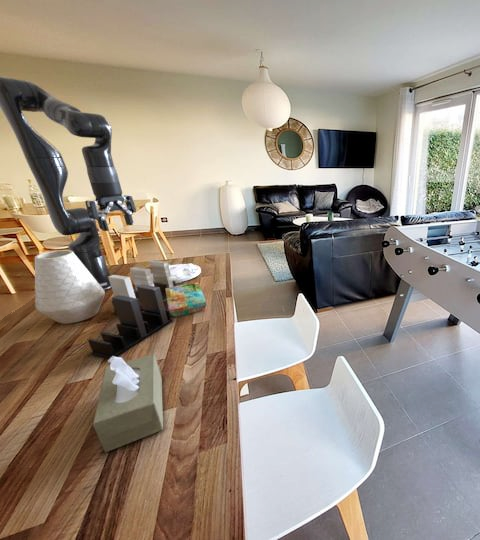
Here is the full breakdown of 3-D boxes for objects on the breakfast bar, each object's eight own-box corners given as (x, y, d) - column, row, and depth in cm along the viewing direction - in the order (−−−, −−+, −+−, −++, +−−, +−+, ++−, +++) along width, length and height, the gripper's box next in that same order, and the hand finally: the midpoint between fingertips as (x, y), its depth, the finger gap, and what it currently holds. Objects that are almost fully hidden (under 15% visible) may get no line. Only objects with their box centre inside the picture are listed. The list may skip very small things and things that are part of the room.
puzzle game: (168, 308, 99) (164, 286, 114) (170, 319, 101) (167, 296, 116) (205, 299, 106) (197, 280, 121) (207, 310, 107) (199, 290, 122)
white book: (134, 312, 103) (124, 279, 98) (118, 309, 104) (107, 276, 99) (139, 309, 105) (129, 277, 100) (124, 306, 106) (113, 274, 101)
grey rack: (112, 359, 82) (96, 318, 76) (91, 355, 83) (75, 313, 78) (173, 321, 100) (164, 285, 95) (155, 317, 102) (145, 282, 97)
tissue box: (115, 391, 71) (94, 339, 65) (161, 376, 76) (147, 327, 70) (105, 454, 57) (78, 395, 51) (163, 431, 62) (145, 374, 56)
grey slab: (131, 316, 102) (119, 281, 96) (114, 313, 103) (102, 278, 98) (178, 291, 121) (171, 260, 115) (163, 288, 122) (156, 258, 117)
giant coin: (209, 274, 138) (208, 268, 137) (166, 289, 122) (165, 283, 121) (186, 265, 147) (185, 259, 146) (143, 277, 131) (141, 271, 130)
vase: (33, 320, 98) (3, 257, 89) (94, 299, 112) (74, 243, 103) (58, 335, 91) (28, 268, 82) (120, 310, 105) (101, 251, 96)
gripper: (117, 177, 102) (129, 222, 109) (71, 181, 90) (87, 231, 96) (134, 179, 101) (145, 224, 107) (89, 183, 88) (105, 234, 94)
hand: (118, 227), depth 102 cm, fingers open, 8 cm apart
